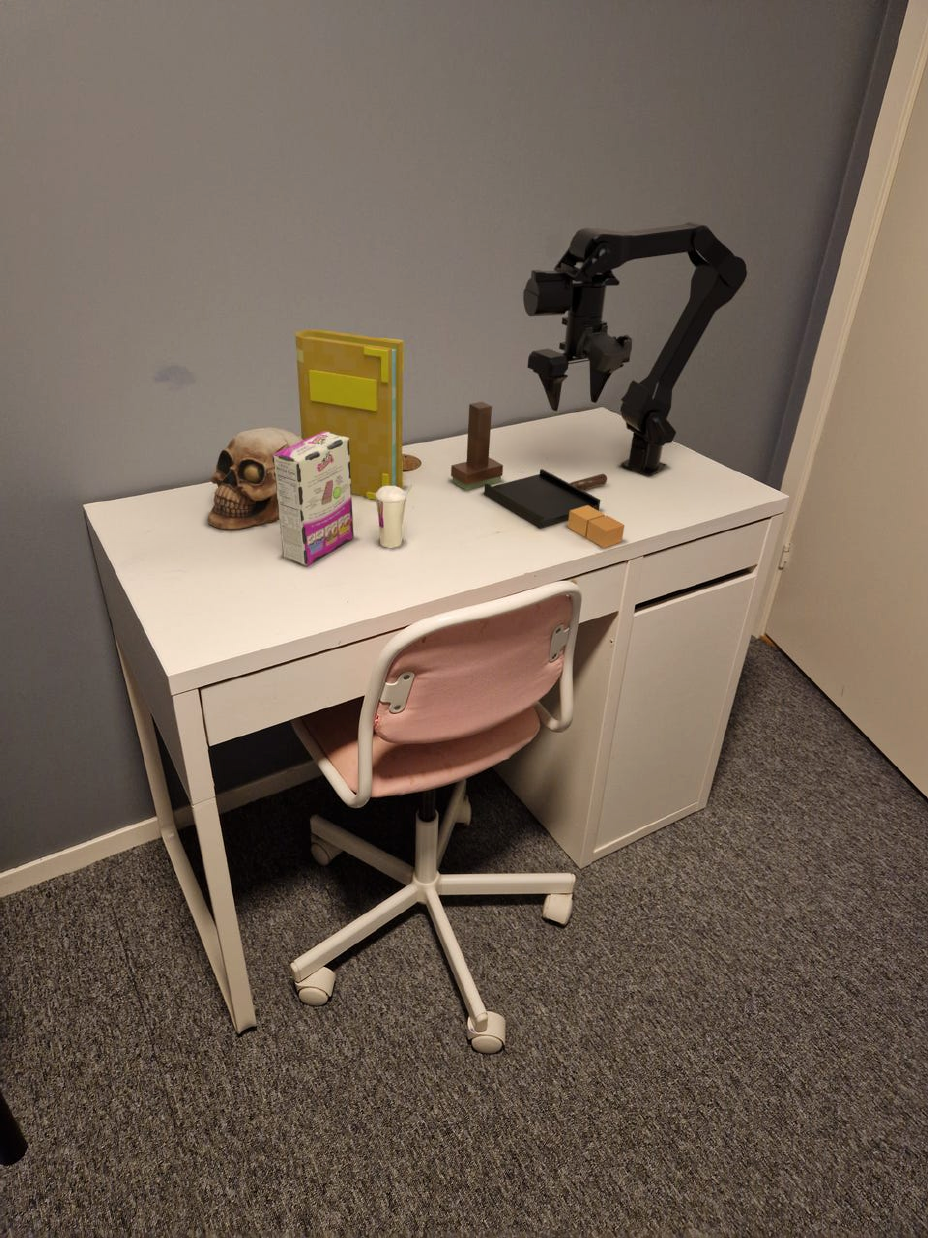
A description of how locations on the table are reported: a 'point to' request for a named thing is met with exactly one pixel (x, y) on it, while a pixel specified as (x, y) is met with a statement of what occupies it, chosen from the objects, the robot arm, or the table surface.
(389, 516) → the milkshake
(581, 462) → the table surface
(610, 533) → the orange square block
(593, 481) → the griddle
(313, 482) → the candy bar box
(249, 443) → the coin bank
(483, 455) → the scrub brush
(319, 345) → the book
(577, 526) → the block
